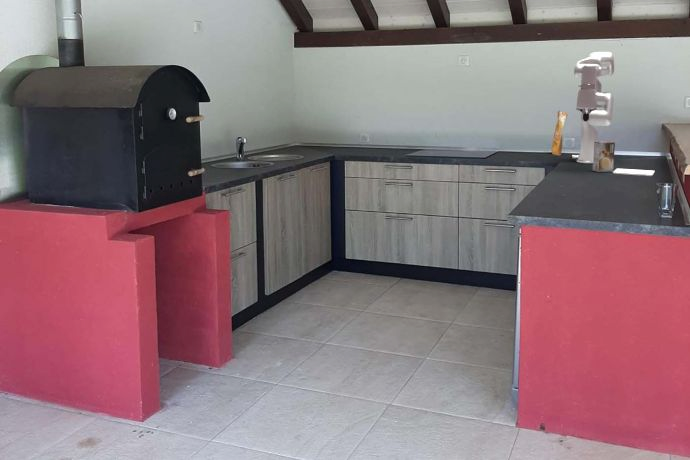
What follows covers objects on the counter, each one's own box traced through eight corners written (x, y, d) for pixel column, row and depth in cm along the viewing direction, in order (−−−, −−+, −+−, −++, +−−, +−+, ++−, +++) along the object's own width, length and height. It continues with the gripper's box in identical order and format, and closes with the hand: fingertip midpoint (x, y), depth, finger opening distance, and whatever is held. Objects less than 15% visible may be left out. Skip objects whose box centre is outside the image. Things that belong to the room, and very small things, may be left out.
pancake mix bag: (560, 152, 493) (562, 110, 487) (565, 155, 474) (568, 112, 468) (549, 152, 493) (552, 110, 487) (554, 155, 475) (557, 112, 469)
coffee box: (607, 170, 409) (609, 141, 405) (613, 171, 402) (615, 142, 399) (592, 170, 407) (594, 141, 403) (598, 172, 401) (600, 142, 397)
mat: (612, 173, 395) (613, 172, 395) (616, 170, 409) (617, 168, 409) (651, 176, 386) (651, 174, 386) (654, 172, 400) (654, 170, 400)
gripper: (572, 87, 400) (570, 121, 404) (601, 87, 393) (598, 122, 397) (575, 87, 406) (572, 120, 410) (603, 87, 400) (600, 121, 404)
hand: (585, 121), depth 404 cm, fingers closed
